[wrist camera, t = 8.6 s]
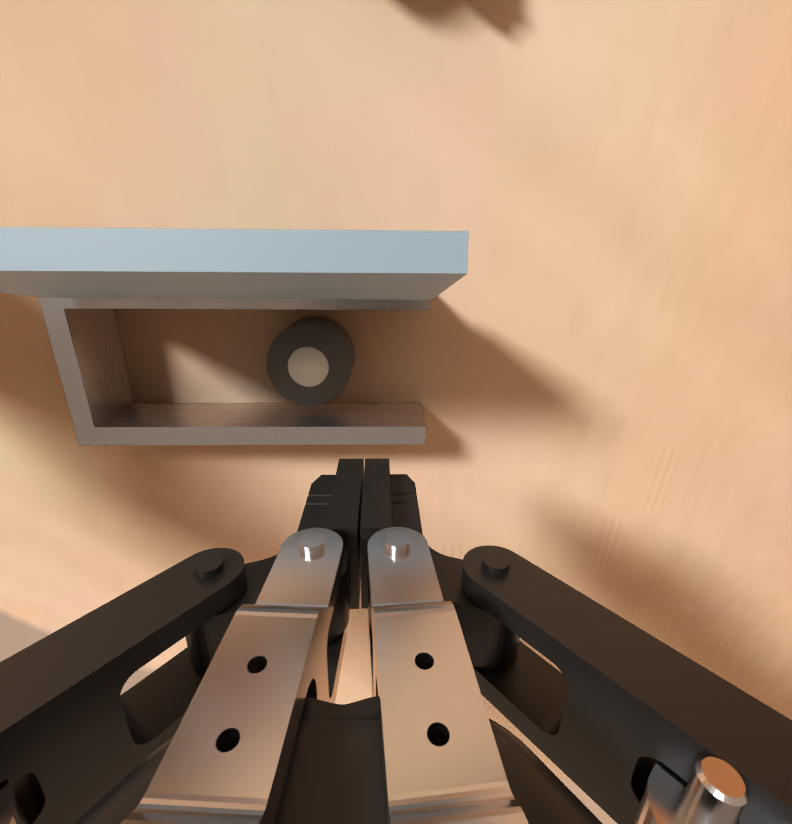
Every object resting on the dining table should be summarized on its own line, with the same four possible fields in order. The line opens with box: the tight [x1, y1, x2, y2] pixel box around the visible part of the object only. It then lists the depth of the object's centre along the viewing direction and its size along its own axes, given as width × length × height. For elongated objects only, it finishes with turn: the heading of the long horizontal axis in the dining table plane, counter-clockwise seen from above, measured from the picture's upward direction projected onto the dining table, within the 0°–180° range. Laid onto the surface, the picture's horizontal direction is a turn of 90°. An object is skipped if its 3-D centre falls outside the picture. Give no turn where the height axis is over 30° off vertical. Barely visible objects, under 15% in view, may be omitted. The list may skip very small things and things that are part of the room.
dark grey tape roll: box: [267, 316, 354, 405], centre depth 27 cm, size 5×5×4 cm
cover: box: [0, 227, 469, 300], centre depth 18 cm, size 20×11×2 cm
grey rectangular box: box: [38, 297, 430, 446], centre depth 27 cm, size 21×9×4 cm, turn 90°
